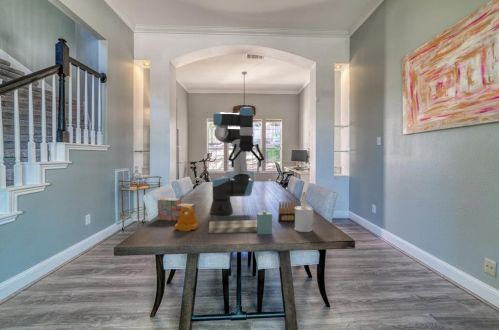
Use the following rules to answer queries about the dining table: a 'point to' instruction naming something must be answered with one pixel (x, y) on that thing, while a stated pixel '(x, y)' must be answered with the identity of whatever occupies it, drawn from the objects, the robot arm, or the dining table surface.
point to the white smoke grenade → (303, 216)
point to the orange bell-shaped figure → (187, 219)
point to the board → (233, 226)
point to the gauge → (264, 223)
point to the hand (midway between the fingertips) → (246, 172)
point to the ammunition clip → (288, 215)
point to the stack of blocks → (171, 208)
